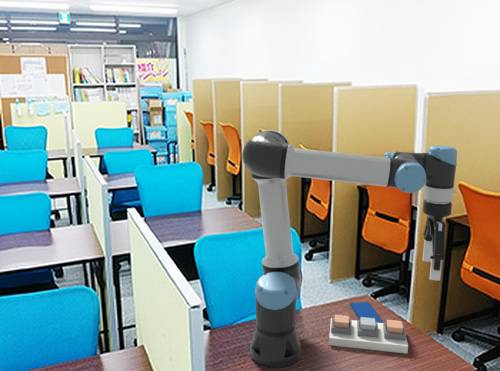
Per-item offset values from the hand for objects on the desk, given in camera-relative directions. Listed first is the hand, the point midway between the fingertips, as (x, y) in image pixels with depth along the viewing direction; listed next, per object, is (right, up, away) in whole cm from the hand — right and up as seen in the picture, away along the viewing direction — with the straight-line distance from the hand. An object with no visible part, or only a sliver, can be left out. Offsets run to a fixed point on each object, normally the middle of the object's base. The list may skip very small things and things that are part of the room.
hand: (430, 270), depth 137 cm
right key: (-9, -20, +6) cm, 22 cm away
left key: (-24, -19, +10) cm, 32 cm away
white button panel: (-16, -23, +9) cm, 30 cm away
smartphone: (-13, -20, +24) cm, 34 cm away
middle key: (-17, -19, +8) cm, 27 cm away
